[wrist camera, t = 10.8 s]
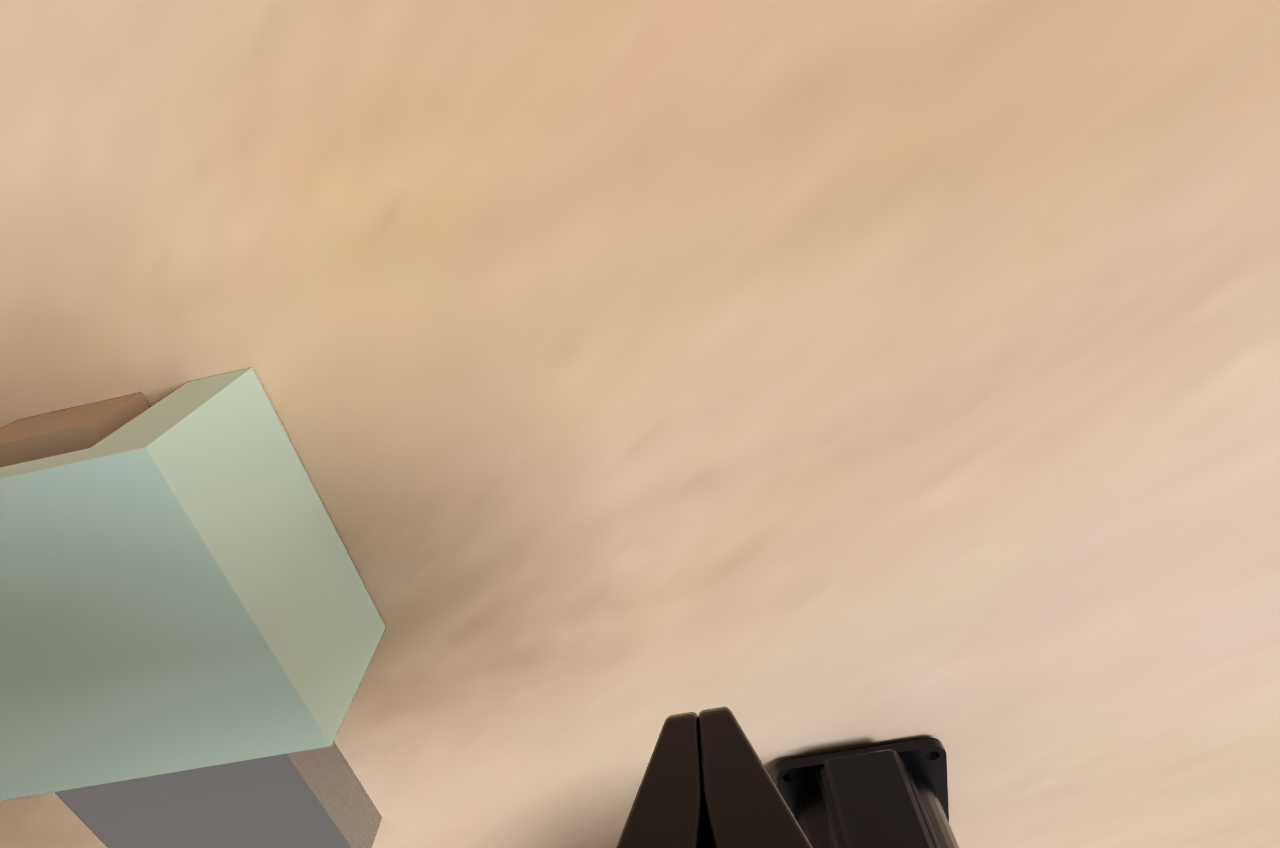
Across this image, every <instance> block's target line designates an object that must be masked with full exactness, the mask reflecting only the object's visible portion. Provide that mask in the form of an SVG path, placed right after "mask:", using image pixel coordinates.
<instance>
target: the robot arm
mask: <svg viewBox="0 0 1280 848" xmlns="http://www.w3.org/2000/svg"><path fill="white" fill-rule="evenodd" d="M775 774H776V779H777V784H778V789H779V791H778V789H777V787H776V786H775V784H774V782H773V781H772V779H771V777H770V776H769V774H768V772H767V770H766V769H765V767H764V765H763V764H762V762H761V760H760V759H759V757H758V755H757V754H756V752H755V750H754V749H753V747H752V745H751V744H750V742H749V740H748V739H747V737H746V735H745V734H744V732H743V730H742V729H741V727H740V725H739V724H738V722H737V720H736V719H735V717H734V715H733V714H732V712H731V711H730V709H728V708H727V707H720V708H714V709H707V710H703V711H701V712H700V713H699V716H698V715H697V714H696V713H694V712H689V713H683V714H676V715H671V716H669V717H668V718H667V719H666V721H665V723H664V725H663V728H662V730H661V733H660V735H659V738H658V741H657V743H656V746H655V748H654V751H653V754H652V756H651V759H650V761H649V764H648V767H647V769H646V772H645V774H644V777H643V779H642V782H641V785H640V787H639V790H638V792H637V795H636V798H635V800H634V803H633V805H632V808H631V811H630V813H629V816H628V818H627V821H626V823H625V826H624V829H623V831H622V834H621V836H620V839H619V842H618V844H617V847H616V848H959V846H958V844H957V842H956V839H955V837H954V834H953V832H952V830H951V827H950V825H949V814H948V788H947V762H946V752H945V750H944V747H943V745H942V743H941V741H939V740H938V739H935V738H927V739H920V740H913V741H907V742H900V743H894V744H887V745H881V746H874V747H868V748H861V749H855V750H848V751H842V752H835V753H829V754H822V755H816V756H809V757H803V758H796V759H790V760H784V761H781V762H779V763H778V764H777V765H776V766H775Z"/></svg>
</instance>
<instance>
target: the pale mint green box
mask: <svg viewBox="0 0 1280 848" xmlns="http://www.w3.org/2000/svg"><path fill="white" fill-rule="evenodd" d="M385 628H386V626H385V624H384V622H383V621H382V619H381V617H380V615H379V613H378V611H377V609H376V607H375V605H374V603H373V601H372V599H371V597H370V595H369V593H368V591H367V589H366V587H365V586H364V584H363V582H362V580H361V578H360V576H359V574H358V572H357V570H356V568H355V566H354V564H353V562H352V560H351V558H350V556H349V554H348V552H347V550H346V549H345V547H344V545H343V543H342V541H341V539H340V537H339V535H338V533H337V531H336V529H335V527H334V525H333V523H332V521H331V519H330V517H329V515H328V514H327V512H326V510H325V508H324V506H323V504H322V502H321V500H320V498H319V496H318V494H317V492H316V490H315V488H314V486H313V484H312V482H311V480H310V479H309V477H308V475H307V473H306V471H305V469H304V467H303V465H302V463H301V461H300V459H299V457H298V455H297V453H296V451H295V449H294V447H293V445H292V443H291V442H290V440H289V438H288V436H287V434H286V432H285V430H284V428H283V426H282V424H281V422H280V420H279V418H278V416H277V414H276V412H275V410H274V408H273V407H272V405H271V403H270V401H269V399H268V397H267V395H266V393H265V391H264V389H263V387H262V385H261V383H260V381H259V379H258V377H257V375H256V373H255V372H254V370H253V368H247V369H243V370H238V371H234V372H229V373H225V374H221V375H216V376H212V377H207V378H203V379H198V380H194V381H189V382H187V383H186V384H184V385H183V386H181V387H180V388H178V389H177V390H175V391H174V392H172V393H171V394H169V395H168V396H166V397H165V398H164V399H162V400H161V401H159V402H158V403H156V404H155V405H153V406H152V407H150V406H149V404H148V402H147V401H146V399H145V397H144V396H143V394H142V392H140V393H136V394H131V395H127V396H122V397H118V398H114V399H109V400H105V401H100V402H96V403H91V404H87V405H82V406H78V407H73V408H69V409H64V410H60V411H56V412H51V413H47V414H42V415H38V416H33V417H29V418H24V419H20V420H17V421H16V422H14V423H12V424H10V425H8V426H7V427H5V428H3V429H1V430H0V801H3V800H9V799H15V798H21V797H27V796H33V795H39V794H45V793H51V792H57V791H63V790H70V789H76V788H82V787H88V786H94V785H100V784H106V783H112V782H118V781H124V780H130V779H136V778H142V777H148V776H154V775H160V774H166V773H172V772H178V771H184V770H190V769H196V768H202V767H208V766H214V765H220V764H226V763H232V762H238V761H244V760H250V759H257V758H263V757H269V756H275V755H281V754H287V753H293V752H299V751H305V750H311V749H317V748H323V747H329V746H332V744H333V742H334V739H335V737H336V735H337V733H338V731H339V728H340V726H341V724H342V722H343V720H344V718H345V715H346V713H347V711H348V709H349V707H350V704H351V702H352V700H353V698H354V696H355V693H356V691H357V689H358V687H359V685H360V683H361V680H362V678H363V676H364V674H365V672H366V669H367V667H368V665H369V663H370V661H371V659H372V656H373V654H374V652H375V650H376V648H377V645H378V643H379V641H380V639H381V637H382V635H383V632H384V630H385Z"/></svg>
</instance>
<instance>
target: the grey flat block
mask: <svg viewBox="0 0 1280 848" xmlns="http://www.w3.org/2000/svg"><path fill="white" fill-rule="evenodd" d="M55 793H56V794H57V795H58V796H59V797H60V798H61V800H62V801H63V802H64V803H65V804H66V805H67V806H68V807H69V808H70V809H71V810H72V811H73V812H74V813H75V814H76V815H77V816H78V817H79V818H80V819H81V820H82V821H83V823H84V824H85V825H86V826H87V827H88V828H89V829H90V830H91V831H92V832H93V833H94V834H95V835H96V836H97V837H98V838H99V839H100V840H101V841H102V842H103V843H104V844H105V846H106V847H107V848H372V845H373V842H374V839H375V836H376V833H377V830H378V827H379V824H380V821H381V818H382V817H381V815H380V813H379V812H378V810H377V809H376V807H375V806H374V804H373V802H372V801H371V799H370V798H369V796H368V794H367V793H366V791H365V790H364V788H363V787H362V785H361V783H360V782H359V780H358V779H357V777H356V775H355V774H354V772H353V771H352V769H351V767H350V766H349V764H348V763H347V761H346V760H345V758H344V756H343V755H342V753H341V752H340V750H339V748H338V747H337V745H336V744H335V742H333V744H332V746H329V747H323V748H317V749H311V750H305V751H299V752H293V753H287V754H281V755H275V756H269V757H263V758H257V759H250V760H244V761H238V762H232V763H226V764H220V765H214V766H208V767H202V768H196V769H190V770H184V771H178V772H172V773H166V774H160V775H154V776H148V777H142V778H136V779H130V780H124V781H118V782H112V783H106V784H100V785H94V786H88V787H82V788H76V789H70V790H63V791H57V792H55Z"/></svg>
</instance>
